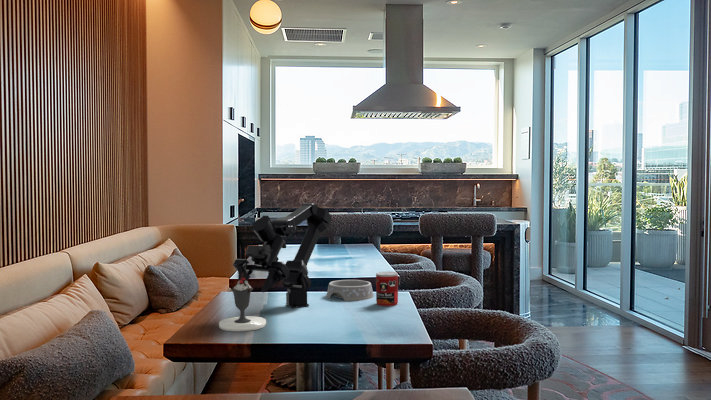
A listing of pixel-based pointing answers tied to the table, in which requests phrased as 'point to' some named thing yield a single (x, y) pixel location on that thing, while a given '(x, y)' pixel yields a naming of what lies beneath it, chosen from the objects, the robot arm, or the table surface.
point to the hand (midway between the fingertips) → (250, 290)
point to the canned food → (387, 288)
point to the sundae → (242, 298)
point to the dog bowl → (350, 290)
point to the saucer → (242, 324)
